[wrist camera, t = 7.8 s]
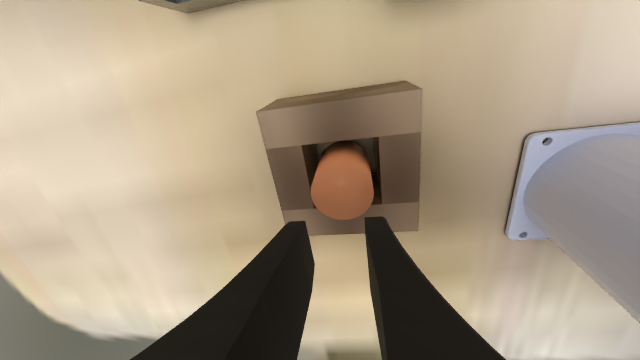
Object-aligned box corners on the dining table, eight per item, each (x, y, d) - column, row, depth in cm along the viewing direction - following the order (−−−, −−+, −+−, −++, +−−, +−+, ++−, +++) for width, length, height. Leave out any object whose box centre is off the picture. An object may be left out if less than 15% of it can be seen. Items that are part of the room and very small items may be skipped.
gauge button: (367, 138, 14) (371, 162, 11) (370, 185, 15) (375, 218, 12) (315, 144, 14) (305, 168, 11) (323, 188, 16) (316, 221, 13)
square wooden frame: (405, 80, 15) (421, 88, 11) (405, 196, 18) (418, 230, 15) (277, 99, 16) (255, 112, 13) (300, 203, 19) (288, 236, 16)
